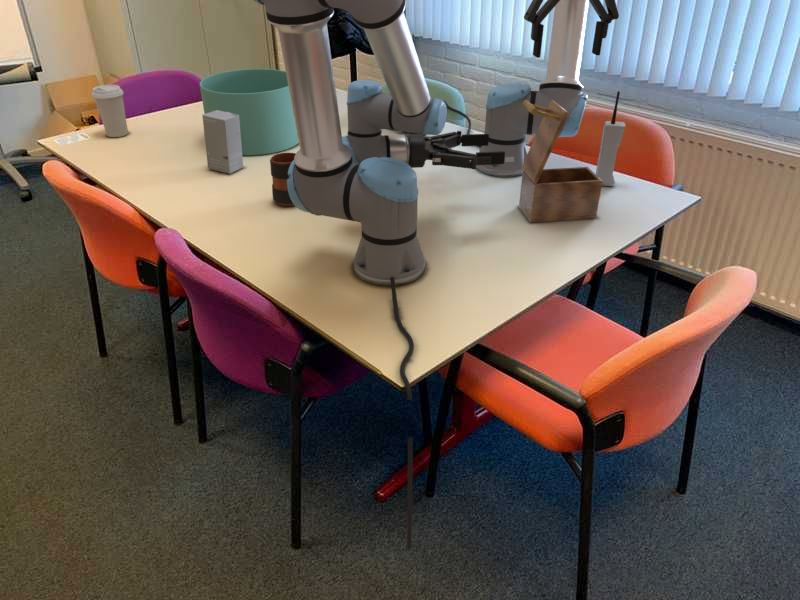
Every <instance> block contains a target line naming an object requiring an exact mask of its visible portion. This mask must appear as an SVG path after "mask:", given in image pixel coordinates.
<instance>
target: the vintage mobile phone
mask: <svg viewBox="0 0 800 600" xmlns="http://www.w3.org/2000/svg"><path fill="white" fill-rule="evenodd" d="M616 92H617V93H616V98H615V104H614V109H613V112H612V118H611V120H606V121H604V124H603V128H602V129H603V130H602V135H601V141H600V147H599V153H598V159H597V163H596V170H595V174H596V175H597V176H598V177H599V178H600V179H601V180H602V181H603V182H602V186H606V187H614V186H615V183H616V181H615V177H614V168H615V165H616V160H617V153H618V148H619V147H620V145H621V144H622V140H623V138H624V134H625V130H626V122H624V121H616V118H617V112H618V104H619V100H620V93H621V92H620V91H616Z"/></svg>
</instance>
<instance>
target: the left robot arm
mask: <svg viewBox="0 0 800 600" xmlns="http://www.w3.org/2000/svg"><path fill="white" fill-rule="evenodd" d="M253 2H255V3H257V4H259V5H263V6H264V10H265V15H266V20H267V22H268V23H269V24H271V25H272V26H273V27H275V28H276V29H277V32H278V36H279V42H280V49H281V52H282V58H283V65H284V69H285V70H284V71H286V75H287V81H288V86H289V92H290V97H291V103H292V108H293V113H294V119H295V124H296V130H297V135H298V141H299V143H298V146H299V149H298V151H296V155H295V157H294V160H293V162H292V163H291V165H290V167H289V170H288V176H289V179H287V188H288V193H289V196H290V198H291V200H292V202H293V204H294V205H295V207H296V208H297V209H298V210H300V211H301V212H304V213H308V214H311V215H314V216H320V217H321V216H324V217H329V218H334V219H340V220H345V221H350V222H356V223H360V239H359V242H358V247H357V249H356V252H355V256H354V259H353V270H354V273H355V275H356V276H357V277H358V278H359V279H360V280H362V281H364V282H366V283H369V284H370V285H371V284H372V285H376V286H382V287H390V288H391V296H392V305H393V311H394V318H395V322H396V324H397V327H398V328H399V330H400V331H401V333H402V335H404V337H405V338H406V339H407V341H408V350H407V352H406V354H405V355H404V357H403V359H402V360H401V363H400V366H399V375H400V378H401V379H402V382H403V384H404V387H405V392H406V393H405V394H406V399H407V400H408V401H412V400H413V393H412V388H411V384H410V381H409V378H408V377H407V375H406V370H405V369H406V365H407V363H408V361H409V360H410V358H411V356H412V355H413V353H414V350H415V349H414V348H415V345H414V339H413V338H412V336H411V335H410V333H409V332H408V330H407V329H406V328H405V327H404V325H403V323H402V320H401V317H400V312H399V306H398V300H397V299H398V298H397V290H396V289H397V288H396V286H402V285H406V284H410V283H413V282H415V281H417V280H418V279H420V278H421V276H423V274H424V273H425V270H426V261H425V255H424V252H423V250H422V247H421V244H420V241H419V238H418V202H419V201H418V198H419V188H418V176H417V173H416V171H415V170H414V169H418V168H424V167H425V164H426V162H427V161H431V166H444V167H453V168H460V169H461V168H462V169H468V170H477V168H476V166H477V165H492V164H504V158H505V152H504V151H501V152H480V151H479V152H478V151H476V152H475V153H472V152H467V151H461V150H457V149H453V148H456V147H459V146H461V147H476V146H488V140H489V134H485V133H473V134H472V133H470V134H467V133H466V134H462V130H456V131H451V132H446V133H442V132H443V130H444V129H445V125H446V121H447V114H448V113H447V112H448V110H447V109H448V108H447V107H446V104H445V102H444V101H445V100H444V101H443V100H442V99H439V98H436V97H431V93H430V92H429V88H428V85H427V82H426V79H425V76H424V72H423V69H422V66H421V63H420V59H419V57H418V54H417V50H416V46H415V44H414V41H413V38H412V34H411V31H410V28H409V24H408V21H407V18H406V15H405V9H406V7H407V0H253ZM335 9H340V10H343V11H346V12H348V13H349V14H350V15H351V18H352V20H353V22H354V23H355V24H356V25H357V26H358V27H360V28H361V29H362V30H363V31H364V34H365V36H366V39H367V41H368V43H369V46H370V48H371V51H372V53H373V55H374V58H375V60H376V62H377V65H378V67H379V70H380V72H381V75H382V77H383V79H384V82H385V84H386V87H387V90H388V92H389V93H386V92H383V88H382V83H380V82H379V81H376V80H373V79H359V80H354V81H352V82H349V84H348V86H347V95H346V96H347V97H346V99H347V100H346V108H347V135H345V136H343V133H342V127H341V120H340V111H339V106H338V105H339V104H338V96H337V90H336V82H335V75H334V67H333V59H332V53H331V52H332V51H331V45H330V38H329V31H328V30H329V29H328V22H329V21H330V20H331V18H332V17H333V16H334V14H335ZM382 129H383V130H389V131H397V132H401V131H403V132H402V133H404V132H410V133H417V134H411V135H409V134H407V135H405V134H386V135H385V134H384V135H383V134H382V131H383V130H382ZM424 134H426V136H425V137H424V136H423V135H424ZM427 135H428V136H427ZM413 440H414V439H413V436H412V437H407V507H406V508H407V511H406V513H407V515H406V518H407V520H406V523H407V524H406V549H407V550H411V549H412V537H413V536H412V533H413V531H412V529H413V528H412V527H413V526H412V525H413V477H414V476H413V471H414V470H413V466H414V465H413V463H414V461H413V460H414V457H413V456H414V454H413V453H414V452H413V449H414V447H413V445H414V444H413V443H414V442H413Z"/></svg>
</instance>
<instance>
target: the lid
mask: <svg viewBox="0 0 800 600" xmlns="http://www.w3.org/2000/svg"><path fill="white" fill-rule="evenodd" d="M523 106H524V107H525V108H526V109H527V110H528V111H529V112H530V113H531V114H533V115H536V114H539V115H542V116H544V117H543V120H542V122H541V124H540V126H539V129H538V131H537V133H536V135H534V138H533V140H532V143H531V145H530V147H529V148H528V149H529V150H528V151H527V156H526V159H525V161H524V163H523V165H522V169H523V170H524V172H525V173H526V174H527V175H528V176H529V178H530V179H531V180H532V181H533V182H534V183H537V182H538V179H539V177H540V175H541V173H542V171H543V169H545V167H546V164H547V162H548V160H549V157H550V155H551V154H552V151H553V149H554V147H555V145H556V142H557V139H558V138H559V137H558V136H559V133H560V131H561V129H562V127H563V125H564V122H565V120H566V118H567V116H568V114H569V112H567V111H566V110H565V109H564V108H563V107H561V106H560V105H559V104H558V103H556V102H555V101H553V100H551V101H550V104H549V106H548V108H544V107H540V106H537V105H534V104H531V103H530V102H529V101H527V100H525V101H524V102H523ZM537 109H538V110H541V111H538V110H537ZM542 111H544V112H542ZM545 112H546V113H545Z"/></svg>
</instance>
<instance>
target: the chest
mask: <svg viewBox="0 0 800 600" xmlns="http://www.w3.org/2000/svg"><path fill="white" fill-rule="evenodd" d="M602 182H603V181H602V180H601V179H600V178H599V177H598V176H597V175H596V172H594V171H593V170H592V169H591V168H590V167H589V166H578V167H577V166H576V167H559V168H558V167H557V168H543V171H542V173H541V175H540V177H539V179H538V182H537V183H534V182H533V181H532V180H531V179H530V178H529V176H528V175H527V174H526V173H525V172H524V170H523V174H521V182H520V183H521V184H520V192H519V200H518V202H519V203H518V208H519V210H520V211H521V212H522V213H523V215H524V216H525V218H526V219H527V220H528V222H529V223H541V222H542V223H543V222H545V223H546V222H557V221H558V222H560V221H572V220H588V219H596V218H597V214H598V210H599V209H598V208H599V203H600V198H601V192H602V188H603V187H602V186H603V185H602Z"/></svg>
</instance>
